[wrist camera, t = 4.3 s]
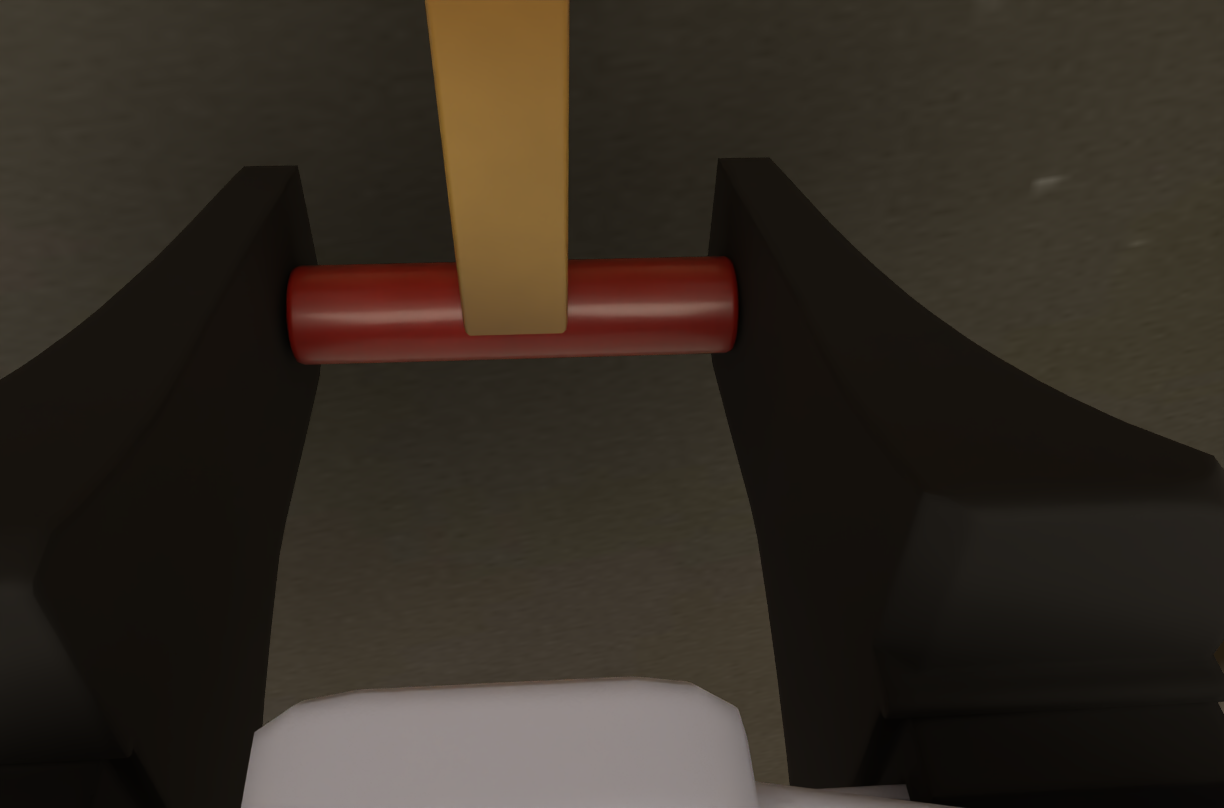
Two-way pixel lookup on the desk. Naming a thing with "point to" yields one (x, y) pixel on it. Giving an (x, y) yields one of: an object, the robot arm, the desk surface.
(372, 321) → the switch lever
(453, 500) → the desk surface
